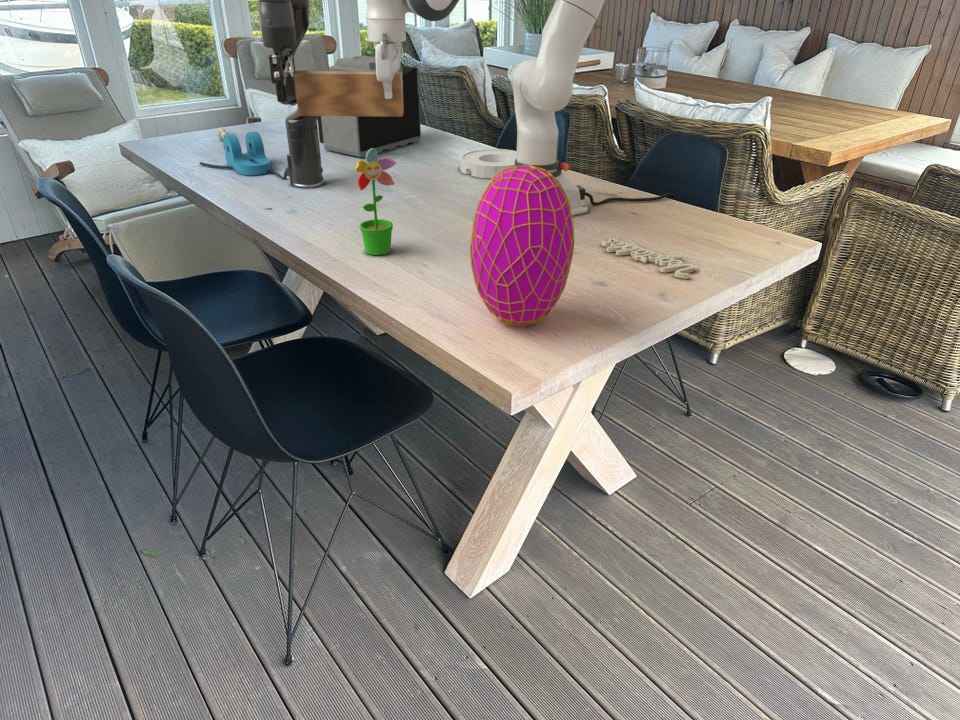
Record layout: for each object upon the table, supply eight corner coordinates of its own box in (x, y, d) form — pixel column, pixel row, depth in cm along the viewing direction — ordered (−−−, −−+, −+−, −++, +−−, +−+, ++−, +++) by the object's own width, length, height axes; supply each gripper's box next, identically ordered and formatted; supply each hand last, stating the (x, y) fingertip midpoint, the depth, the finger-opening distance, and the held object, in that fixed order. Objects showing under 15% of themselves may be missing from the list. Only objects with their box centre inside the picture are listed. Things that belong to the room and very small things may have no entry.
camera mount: (227, 164, 233) (221, 132, 227) (257, 160, 238) (252, 129, 233) (244, 176, 220) (239, 143, 215) (276, 172, 225) (271, 139, 220)
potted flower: (366, 259, 162) (357, 151, 149) (355, 248, 168) (346, 144, 155) (403, 252, 166) (398, 147, 153) (391, 242, 172) (385, 139, 159)
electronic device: (383, 133, 276) (378, 52, 261) (425, 141, 265) (422, 56, 250) (314, 150, 251) (304, 61, 235) (358, 160, 240) (350, 67, 224)
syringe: (218, 132, 274) (216, 125, 272) (227, 131, 275) (226, 124, 274) (222, 147, 254) (220, 139, 252) (232, 146, 255) (231, 138, 254)
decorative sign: (710, 264, 159) (686, 276, 153) (709, 268, 159) (685, 280, 153) (618, 234, 175) (593, 244, 169) (618, 238, 176) (593, 247, 170)
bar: (298, 115, 165) (293, 73, 160) (302, 112, 168) (297, 70, 164) (402, 116, 165) (400, 74, 160) (403, 113, 169) (402, 71, 164)
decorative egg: (525, 353, 124) (534, 190, 109) (449, 319, 135) (447, 167, 120) (586, 318, 136) (602, 167, 121) (512, 290, 148) (517, 148, 132)
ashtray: (461, 159, 242) (461, 148, 240) (527, 160, 241) (527, 149, 239) (457, 177, 222) (457, 165, 220) (529, 179, 221) (529, 166, 219)
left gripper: (287, 26, 150) (296, 104, 159) (300, 21, 163) (308, 93, 171) (252, 26, 150) (263, 104, 159) (268, 21, 163) (278, 93, 171)
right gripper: (396, 37, 149) (399, 104, 156) (403, 28, 166) (406, 89, 173) (367, 37, 149) (371, 104, 156) (377, 28, 166) (381, 88, 173)
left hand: (286, 98), depth 165 cm, fingers open, 8 cm apart
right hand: (390, 96), depth 165 cm, fingers closed on bar, 4 cm apart
